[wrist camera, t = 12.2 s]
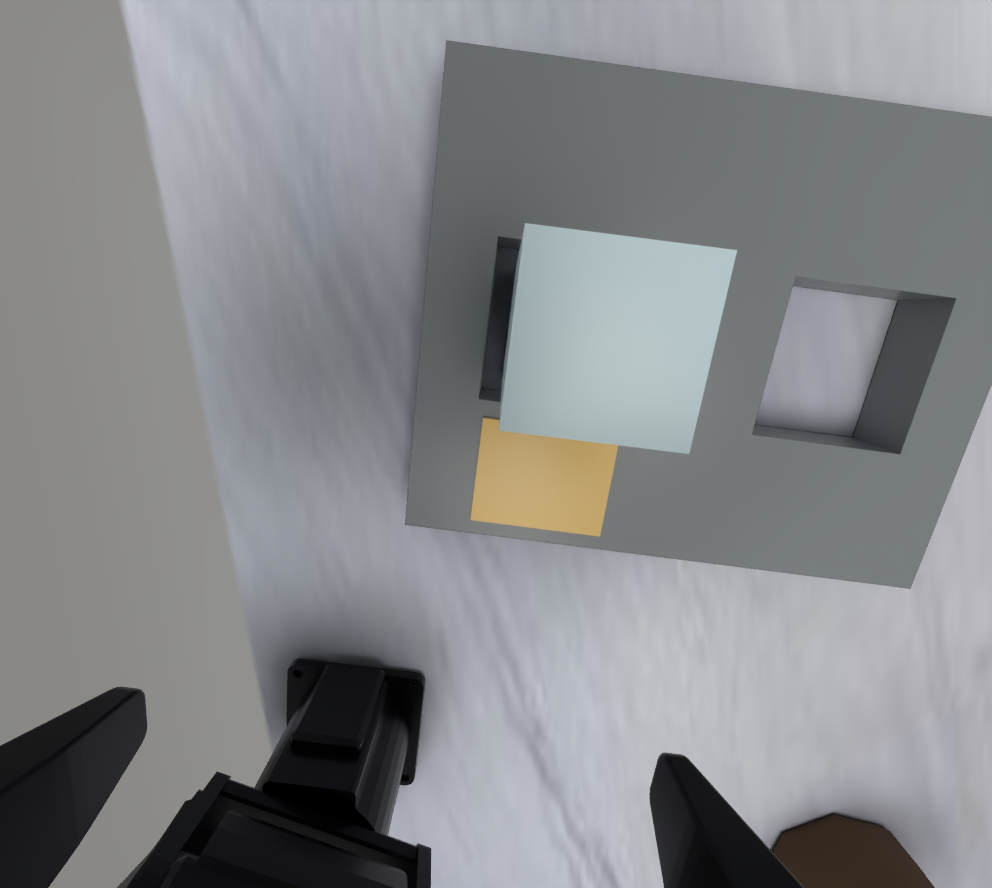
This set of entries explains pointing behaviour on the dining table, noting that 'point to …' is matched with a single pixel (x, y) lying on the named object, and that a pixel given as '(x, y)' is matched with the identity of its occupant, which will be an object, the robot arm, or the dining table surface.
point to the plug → (611, 337)
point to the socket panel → (745, 319)
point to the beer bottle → (847, 856)
